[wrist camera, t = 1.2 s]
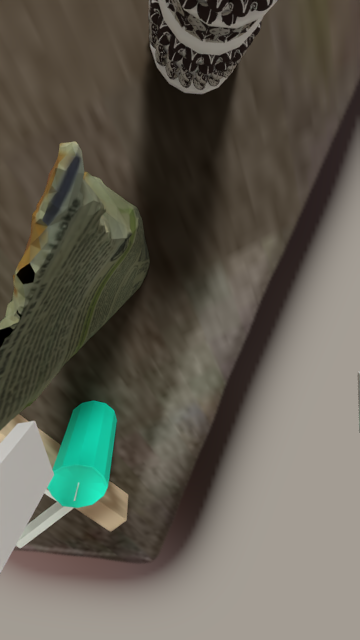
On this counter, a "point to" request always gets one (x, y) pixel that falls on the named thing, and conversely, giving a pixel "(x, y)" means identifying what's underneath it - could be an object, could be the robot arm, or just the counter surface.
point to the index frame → (42, 521)
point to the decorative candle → (202, 39)
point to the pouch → (67, 278)
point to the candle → (84, 456)
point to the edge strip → (104, 511)
